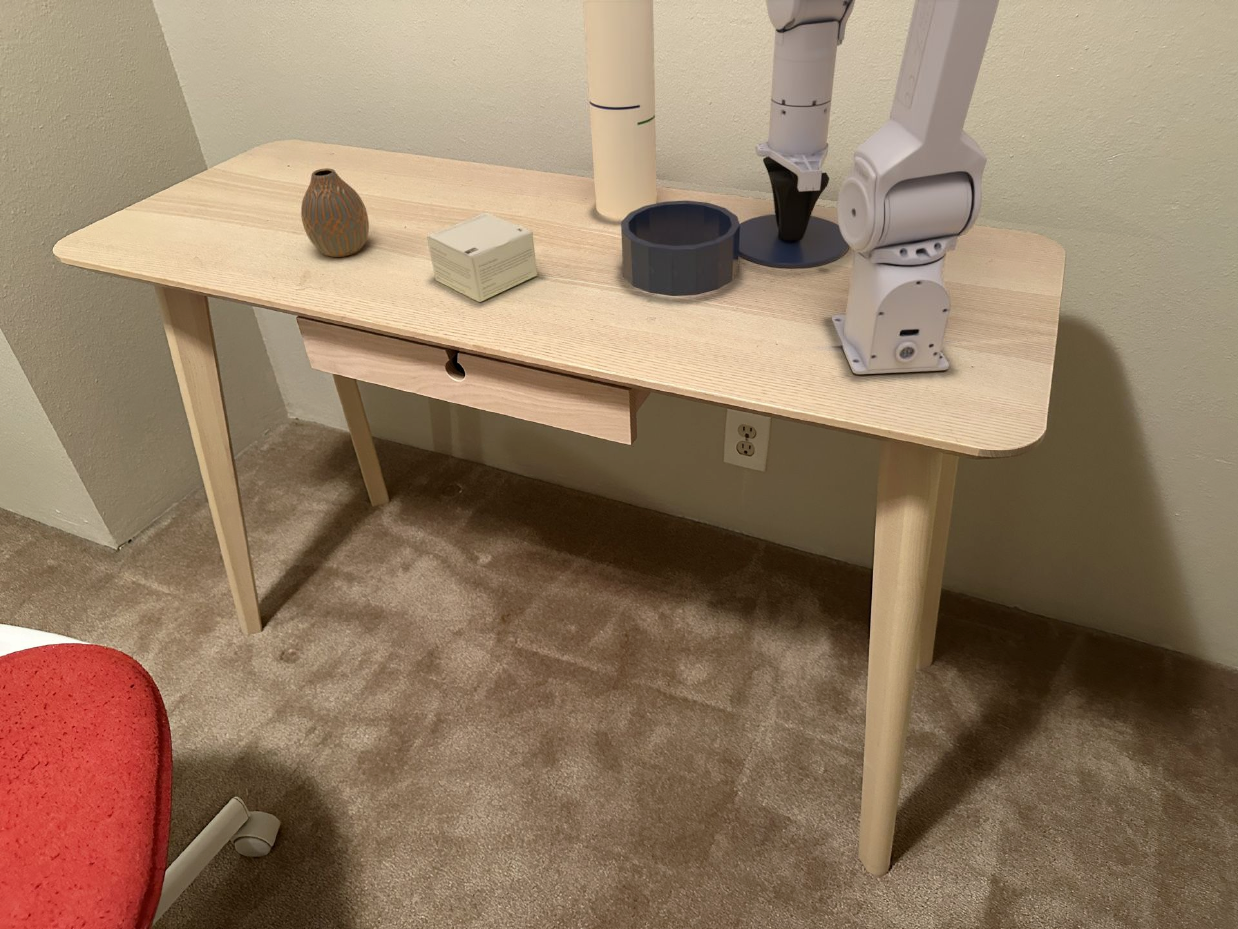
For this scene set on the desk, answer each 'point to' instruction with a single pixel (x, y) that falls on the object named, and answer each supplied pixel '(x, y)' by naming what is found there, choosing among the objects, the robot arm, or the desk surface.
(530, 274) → the small box
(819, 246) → the tin lid
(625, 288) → the desk surface
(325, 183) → the vase
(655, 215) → the tin
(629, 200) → the cylindrical container
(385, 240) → the desk surface
